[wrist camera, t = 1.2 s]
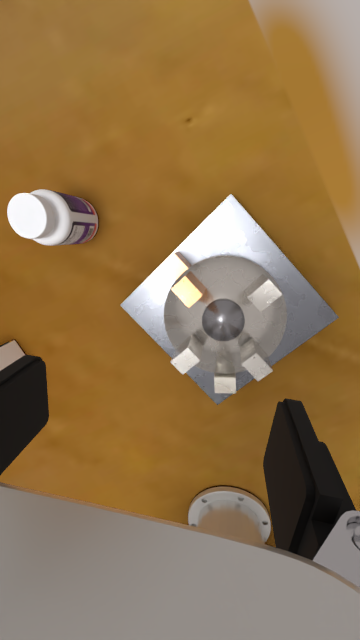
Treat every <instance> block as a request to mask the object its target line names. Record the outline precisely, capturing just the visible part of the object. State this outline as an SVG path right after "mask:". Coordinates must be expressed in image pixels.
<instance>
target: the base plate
mask: <svg viewBox="0 0 360 640" xmlns="http://www.w3.org/2000/svg"><path fill="white" fill-rule="evenodd" d="M178 251H179V252H180V254H181V255H182V256H183V257H184V258H185V259H186V260H187V261H188V262H189V263H190V264H191V266H192V265H193V264H195V263H196V262H198V261H200V260H202V259H205V258H208V257H211V256H216V255H235V256H240V257H243V258H246V259H249V260H251V261H253V262H255V263H256V264H258V265H259V266H260V267H262V268H263V269H264V270H265V271H266V272H268V273H269V274H270V275H271V276H272V277H273V279H274V280H275V281H276V283H277V284H278V286H279V287H280V289H281V291H282V294H283V296H284V299H285V303H286V309H287V323H286V328H285V331H284V334H283V337H282V339H281V341H280V343H279V345H278V346H277V348H276V349H275V351H274V352H273V353H272V354H271V355H270V356H269V360H270V363H271V366H272V365H274V364H275V363H276V362H278V361H279V360H280V359H282V358H283V357H285V356H286V355H287V354H289V353H290V352H292V351H293V350H294V349H296V348H297V347H298V346H300V345H301V344H303V343H304V342H305V341H307V340H308V339H310V338H311V337H312V336H314V335H315V334H317V333H318V332H319V331H321V330H322V329H323V328H325V327H326V326H328V325H329V324H330V323H332V322H333V321H335V320H336V319H337V318H339V317H338V316H337V315H336V314H335V312H334V311H333V310H332V309H331V308H330V307H329V306H328V304H327V303H326V302H325V301H324V300H323V299H322V298H321V296H320V295H319V294H318V293H317V292H316V291H315V290H314V288H313V287H312V286H311V285H310V284H309V283H308V282H307V280H306V279H305V278H304V277H303V276H302V275H301V273H300V272H299V271H298V270H297V269H296V268H295V267H294V265H293V264H292V263H291V262H290V261H289V260H288V259H287V257H286V256H285V255H284V254H283V253H282V252H281V251H280V249H279V248H278V247H277V246H276V245H275V244H274V243H273V241H272V240H271V239H270V238H269V237H268V236H267V235H266V233H265V232H264V231H263V230H262V229H261V228H260V226H259V225H258V224H257V223H256V222H255V221H254V220H253V218H252V217H251V216H250V215H249V214H248V213H247V212H246V210H245V209H244V208H243V207H242V206H241V205H240V204H239V202H238V201H237V200H236V199H235V198H234V197H233V196H232V194H230V195H229V196H228V197H227V198H226V199H225V200H224V201H223V202H222V203H221V204H220V205H219V206H218V207H217V208H216V209H215V210H214V211H213V212H212V213H211V214H210V215H209V216H208V217H207V218H206V219H205V220H204V221H203V222H202V223H201V224H200V225H199V226H198V227H197V228H196V229H195V230H194V231H193V232H192V233H191V234H190V235H189V236H188V237H187V238H186V239H185V240H184V241H183V243H182V244H181V245H180V246H179V247H178V248H177V249H176V250H175V251H174V252H173V253H175V252H178ZM173 253H172V254H173ZM172 254H171V255H172ZM171 255H170V256H171ZM170 256H169V257H170ZM169 257H168V258H169ZM168 258H167V259H168ZM167 259H166V260H167ZM166 260H165V261H166ZM165 261H164V262H165ZM164 262H163V263H164ZM163 263H162V264H163ZM162 264H161V265H160V266H159V267H158V268H157V269H156V270H155V271H154V272H153V273H152V274H151V275H150V276H149V277H148V278H147V279H146V280H145V281H144V282H143V283H142V284H141V285H140V286H139V287H138V288H137V289H136V290H135V291H134V292H133V293H132V294H131V295H130V296H129V297H128V298H127V299H126V300H125V301H124V302H123V303H122V304H121V306H122V307H123V308H124V310H125V311H126V312H127V313H128V314H129V315H130V316H131V317H132V318H133V319H134V320H135V321H136V322H137V323H138V324H139V325H140V326H141V327H142V328H143V329H144V330H145V331H146V332H147V333H148V334H149V335H150V336H151V337H152V338H153V339H154V340H155V341H156V342H157V343H158V344H159V345H160V346H161V347H162V349H163V350H164V351H165V352H166V353H167V354H168V355H169V356H170V357H171V358H172V357H173V355H174V353H175V351H176V350H175V348H174V347H173V345H172V344H171V342H170V340H169V338H168V335H167V332H166V329H165V324H164V306H165V301H166V298H167V295H168V292H169V290H170V289H171V287H172V285H173V284H174V282H175V281H176V280H175V279H174V278H173V277H172V275H171V274H170V273H169V272H168V271H167V270H166V269H165V268H164V267H163V266H162ZM186 373H187V374H188V375H189V376H190V377H191V378H192V379H193V380H194V381H195V382H196V383H197V384H198V385H199V386H200V388H201V389H202V390H203V391H204V392H205V393H206V394H207V395H208V396H209V397H210V398H211V399H212V400H213V401H214V402H215V403H216V404H217V405H218V404H220V403H221V402H222V401H224V400H225V399H226V398H228V397H229V396H231V395H232V394H233V393H235V394H236V391H238V390H239V389H240V388H242V387H243V386H244V385H246V384H247V383H249V382H250V381H251V380H253V379H254V377H253V376H252V375H251V374H250V373H249V371H248V370H245V371H243V372H238V373H231V374H219V373H212V372H209V371H205V370H202V369H200V368H198V367H196V366H193V367H192V368H190V369H189V370H188V371H187V372H186Z"/></svg>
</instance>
